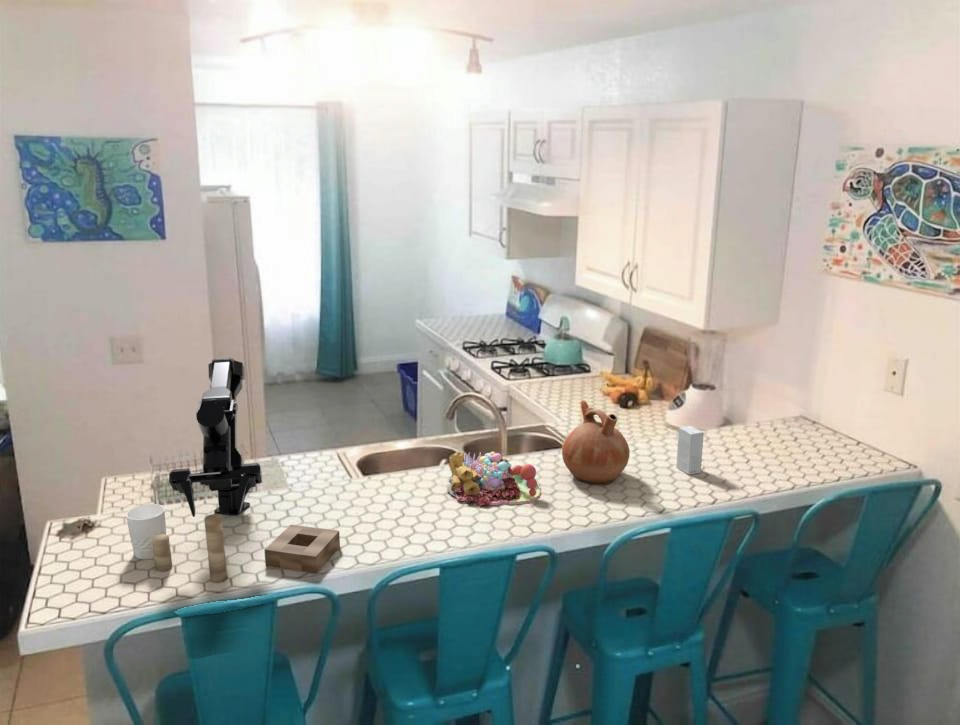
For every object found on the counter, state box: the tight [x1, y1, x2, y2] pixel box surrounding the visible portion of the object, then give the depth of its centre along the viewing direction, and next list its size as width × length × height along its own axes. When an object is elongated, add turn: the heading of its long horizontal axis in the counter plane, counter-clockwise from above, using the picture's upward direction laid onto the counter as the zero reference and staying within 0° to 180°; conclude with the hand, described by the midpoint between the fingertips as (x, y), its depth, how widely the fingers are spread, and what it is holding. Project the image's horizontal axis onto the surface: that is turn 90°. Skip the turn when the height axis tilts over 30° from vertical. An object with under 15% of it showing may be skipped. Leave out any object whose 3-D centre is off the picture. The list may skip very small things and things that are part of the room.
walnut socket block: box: [264, 524, 341, 574], centre depth 177 cm, size 12×12×4 cm
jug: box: [561, 399, 631, 486], centre depth 217 cm, size 18×18×20 cm
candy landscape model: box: [446, 450, 541, 507], centre depth 212 cm, size 25×24×9 cm
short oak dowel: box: [152, 534, 173, 573], centre depth 172 cm, size 3×3×7 cm
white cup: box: [125, 503, 167, 560], centre depth 178 cm, size 8×8×10 cm
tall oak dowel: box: [203, 513, 228, 584], centre depth 166 cm, size 3×3×14 cm
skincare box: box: [675, 425, 705, 475], centre depth 222 cm, size 6×4×12 cm
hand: (216, 514), depth 170 cm, fingers open, 9 cm apart
